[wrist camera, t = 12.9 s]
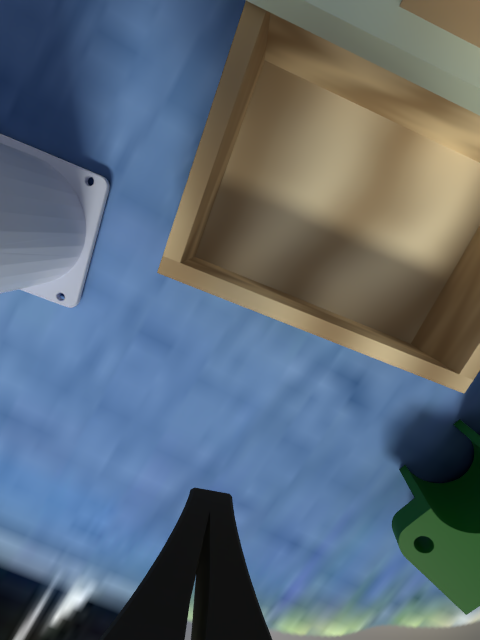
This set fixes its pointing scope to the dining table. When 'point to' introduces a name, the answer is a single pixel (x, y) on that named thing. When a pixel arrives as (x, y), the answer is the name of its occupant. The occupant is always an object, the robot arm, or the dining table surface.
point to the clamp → (445, 530)
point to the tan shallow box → (337, 202)
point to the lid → (401, 38)
